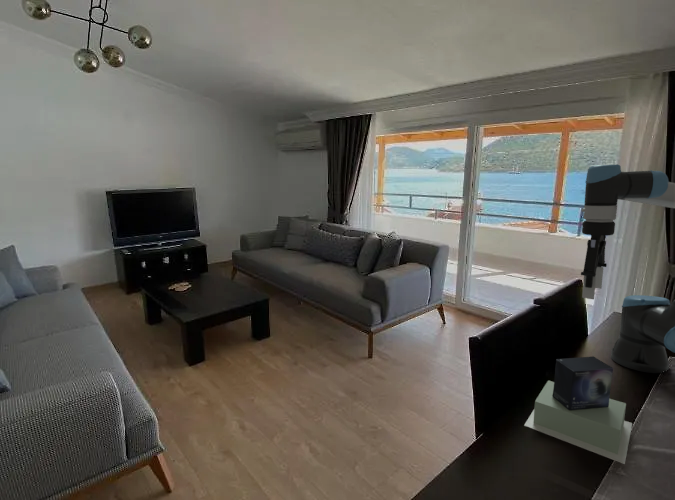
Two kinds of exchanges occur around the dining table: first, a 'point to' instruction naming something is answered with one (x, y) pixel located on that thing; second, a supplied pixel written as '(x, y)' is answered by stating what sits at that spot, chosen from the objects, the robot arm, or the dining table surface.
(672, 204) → the robot arm
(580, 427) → the base brick
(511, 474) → the dining table surface
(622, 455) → the baseplate
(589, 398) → the small box
